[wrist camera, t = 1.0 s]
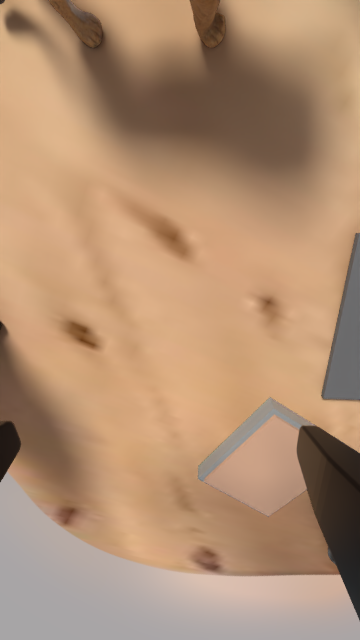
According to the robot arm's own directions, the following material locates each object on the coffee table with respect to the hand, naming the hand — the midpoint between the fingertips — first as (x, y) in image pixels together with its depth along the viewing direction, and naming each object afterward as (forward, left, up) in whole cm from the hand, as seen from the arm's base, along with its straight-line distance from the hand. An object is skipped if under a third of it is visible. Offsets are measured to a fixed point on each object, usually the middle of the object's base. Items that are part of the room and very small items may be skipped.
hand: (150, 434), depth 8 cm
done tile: (-5, -15, -13) cm, 20 cm away
